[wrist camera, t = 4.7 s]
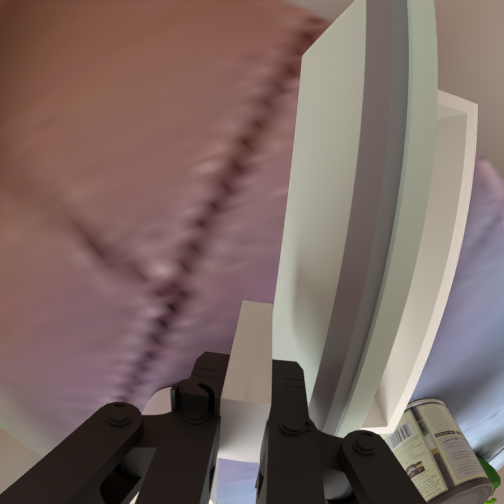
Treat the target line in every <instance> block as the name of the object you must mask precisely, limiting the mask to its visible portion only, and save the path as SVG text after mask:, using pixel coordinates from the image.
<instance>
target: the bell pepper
mask: <svg viewBox="0 0 504 504" xmlns="http://www.w3.org/2000/svg"><path fill="white" fill-rule="evenodd" d="M477 459H478V461H479V462H480V464H481V466H482V468H483V469H484V471H485V473H486V475H487V477H488V479H489V480H490V481H491V482H492V483H493V485H494V490H493V492H492V494H491V495H493V493H494V491H495V489H496V488H497V487H498V486H499V485H500V477H499V475H498V473H497V472H496V470H495V469H494V468H493V467H492V466H491V465H490V464H489V463H487V462H486V461H485V460H484V459H483V458H481V457H477ZM495 501H496V498H492V499H491V500H490V501H486V502H485V503H484V504H493V503H495Z"/></svg>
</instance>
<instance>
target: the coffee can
mask: <svg viewBox="0 0 504 504" xmlns="http://www.w3.org/2000/svg"><path fill="white" fill-rule="evenodd" d="M378 435H380V436H381V437H382V438H383V439H384V440H385V442H386V443H387V444H388V446H389V447H390V449H391V450H392V452H393V453H394V455H395V456H396V458H397V459H398V461H399V462H400V464H401V465H402V467H403V468H404V470H405V471H406V473H407V474H408V476H409V477H410V479H411V480H412V481H413V483H414V484H415V486H416V487H417V489H418V490H419V492H420V493H421V495H422V496H423V498H424V499H425V501H426V502H427V504H484V503H485V502H486V500H487V499H488V498H489V497H490V496H491V494H492V492H493V490H494V485H493V483H492V482H491V481H490V480H489V479H488V477H487V475H486V473H485V471H484V469H483V468H482V466H481V464H480V462H479V461H478V459H477V457H476V455H475V454H474V452H473V450H472V448H471V447H470V445H469V443H468V442H467V440H466V438H465V437H464V435H463V433H462V432H461V430H460V428H459V426H458V425H457V423H456V422H455V420H454V418H453V417H452V415H451V414H450V412H449V410H448V408H447V406H446V404H445V403H444V402H442V401H441V400H438V399H423V400H418V401H415V402H412V403H410V404H407V406H406V408H405V410H404V412H403V415H402V417H401V419H400V421H399V423H398V425H397V426H396V428H395V430H394V432H393V433H389V434H378Z"/></svg>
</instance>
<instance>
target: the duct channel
mask: <svg viewBox="0 0 504 504" xmlns="http://www.w3.org/2000/svg"><path fill="white" fill-rule="evenodd" d="M477 122H478V104H475V103H473V102H471V101H468V100H465V99H463V98H460V97H458V96H455V95H453V94H450V93H447V92H444V91H441V90H438V104H437V124H436V138H435V150H434V160H433V169H432V177H431V184H430V191H429V198H428V205H427V211H426V217H425V222H424V228H423V233H422V238H421V243H420V248H419V252H418V257H417V261H416V266H415V270H414V274H413V278H412V282H411V286H410V290H409V294H408V298H407V301H406V305H405V308H404V312H403V315H402V319H401V322H400V325H399V329H398V332H397V335H396V338H395V341H394V344H393V347H392V350H391V353H390V356H389V359H388V362H387V365H386V368H385V370H384V373H383V376H382V379H381V381H380V384H379V386H378V389H377V392H376V394H375V397H374V399H373V402H372V404H371V406H370V409H369V411H368V414H367V416H366V418H365V421H364V423H363V425H362V427H361V430H367V431H372V432H374V433H376V434H389V433H393V432H394V430H395V428H396V426H397V425H398V423H399V421H400V419H401V417H402V415H403V412H404V410H405V408H406V406H407V404H408V402H409V400H410V398H411V396H412V393H413V391H414V389H415V387H416V384H417V382H418V380H419V377H420V375H421V373H422V370H423V368H424V365H425V363H426V360H427V358H428V355H429V352H430V350H431V347H432V344H433V342H434V339H435V336H436V333H437V331H438V328H439V325H440V322H441V319H442V316H443V312H444V309H445V306H446V303H447V299H448V296H449V293H450V289H451V286H452V282H453V278H454V275H455V271H456V267H457V263H458V259H459V254H460V250H461V245H462V241H463V236H464V231H465V226H466V221H467V215H468V209H469V203H470V196H471V189H472V182H473V174H474V165H475V154H476V141H477Z"/></svg>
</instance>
